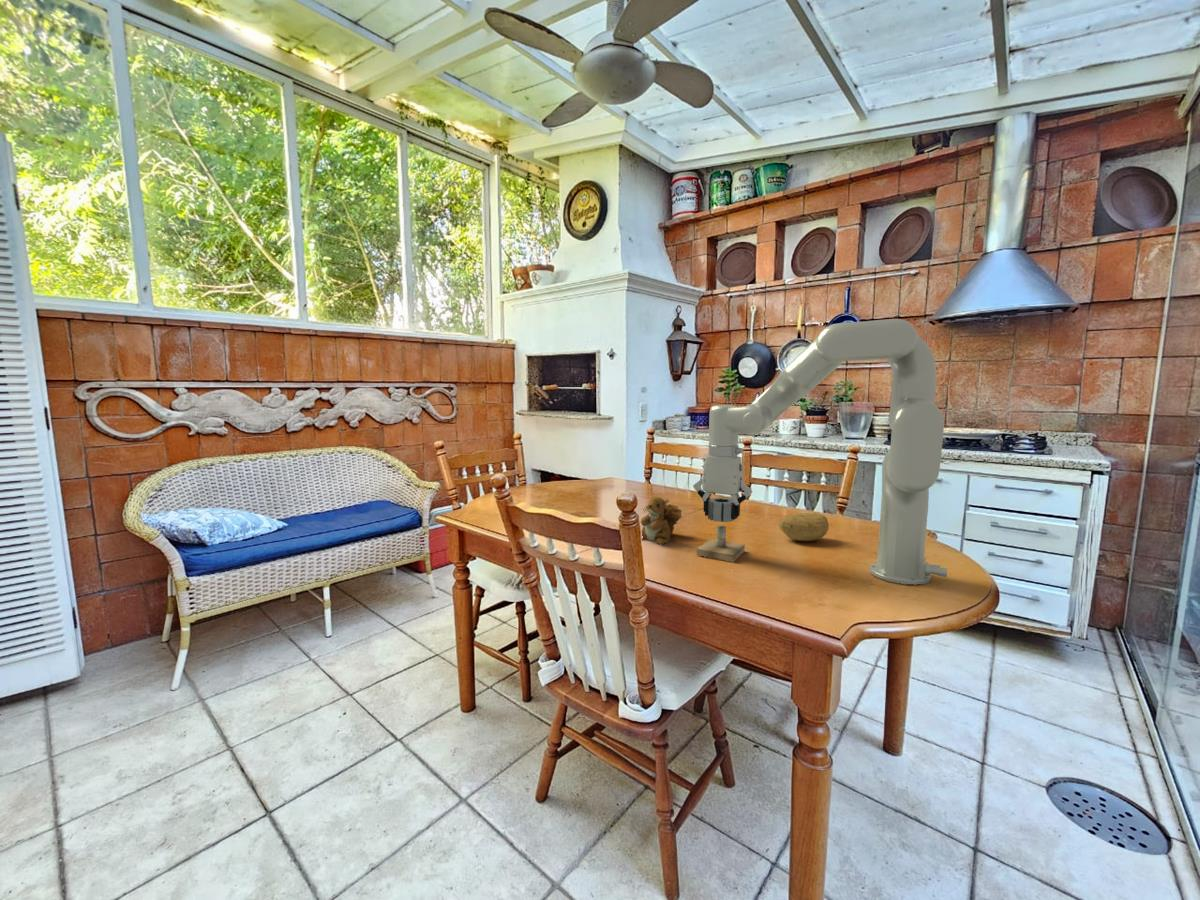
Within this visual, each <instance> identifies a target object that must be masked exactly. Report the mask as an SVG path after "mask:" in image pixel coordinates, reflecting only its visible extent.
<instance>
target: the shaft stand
mask: <svg viewBox="0 0 1200 900" xmlns="http://www.w3.org/2000/svg"><path fill="white" fill-rule="evenodd" d="M745 548H746V547H745V544H744V543H740V542H739V543H737V542H732V541H727V527H726V526H725V525H717V526H716V539H713V538H709V539H707V541H704V543H702V544H701V545H700V546H698V547H697V548H696V556H697V555H698V556H697V557H700V556H704V557H703V558H706V557H709V558H708V559H712V558H714V559H713V560H717V559H720V560H719V561H723V560H725V561H724V562H728V561H731V562H730V563H734V562H735V561H736V560H738V558H739V557H740V556H741V555H742V554H743V553H744V552H745Z"/></svg>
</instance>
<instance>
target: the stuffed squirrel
mask: <svg viewBox="0 0 1200 900" xmlns="http://www.w3.org/2000/svg"><path fill="white" fill-rule="evenodd" d="M669 502H670V500H669V499H664V498H662V497H660V496H653V495H650V496H649V501H648V504H647V505H646V506H645V508H643V509H642V510H643V511H644V514H645V513H646V511H647V512H648V514H646V515H645V516H644V517H642V518H641V519H640V523H641V526H643V527H642V529H641V533H642V536H643V539H642V540H649V541H653V542H655V543H657V545H660V544H663V545H664V543H665V544H667V543H668V542H669V541H670V538H671V535H672V534H673V532H674V530H675V525H677V524H678V521H679V520H680V519H683V517H682V516H683V515H682V512H683V510H682V509H680V508H679V507H678V505H675V504H670V503H669ZM666 542H667V543H666Z"/></svg>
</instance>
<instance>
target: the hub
mask: <svg viewBox="0 0 1200 900" xmlns="http://www.w3.org/2000/svg"><path fill="white" fill-rule="evenodd" d="M732 505H734V502H733V500H732V498H727V497H710V499H709V500H708V516H707V519H708V520H710V521H713V522H717V523H731V522H734V520H733V519H732Z"/></svg>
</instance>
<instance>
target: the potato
mask: <svg viewBox="0 0 1200 900" xmlns="http://www.w3.org/2000/svg"><path fill="white" fill-rule="evenodd" d="M778 527H779V529H780V531H781V532H783V533H784V535H785V536H787V538H788V539H791V540H793V541H797V542H811V541H815V540H819V539H823V538H824V537H825V535H826V534H827V533H828V531H829V527H830V525H829V521H828V518H827V516H826V515H823V514H821V513H806V512H805V513H804V512H800V513H798V512H797V513H794V514H793V513H792V514H786V515H784V516H782V518H780V519H779V522H778Z"/></svg>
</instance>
